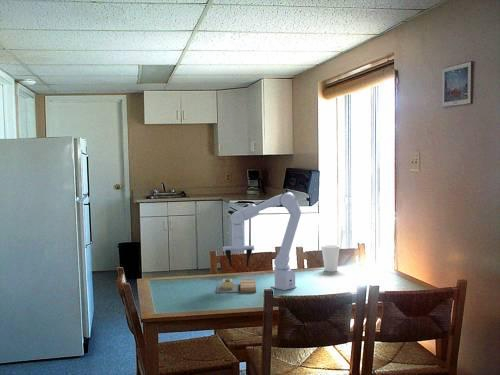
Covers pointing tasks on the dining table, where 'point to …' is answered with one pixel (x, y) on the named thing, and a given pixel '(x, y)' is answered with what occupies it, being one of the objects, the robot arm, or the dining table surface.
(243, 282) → the body
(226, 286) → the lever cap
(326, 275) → the dining table surface
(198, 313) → the dining table surface
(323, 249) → the foam cup
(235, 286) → the mat
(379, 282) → the dining table surface
